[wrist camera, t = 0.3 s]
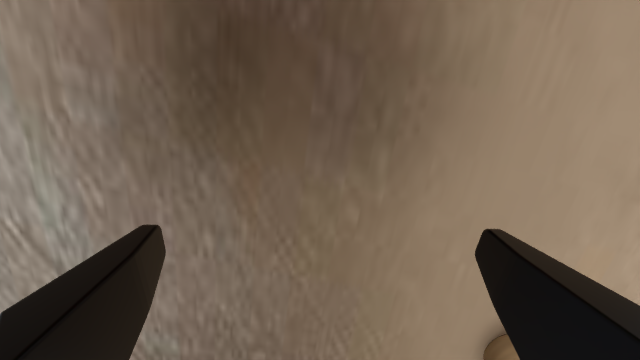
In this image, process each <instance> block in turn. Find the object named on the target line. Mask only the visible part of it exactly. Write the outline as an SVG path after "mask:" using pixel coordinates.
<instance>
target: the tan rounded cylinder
mask: <svg viewBox="0 0 640 360" xmlns="http://www.w3.org/2000/svg"><path fill="white" fill-rule="evenodd" d="M483 359H484V360H520V359H519V357H518V355H517V353H516V351H515V349H514V347H513V345H512V343H511V341H510V339H509V337H508V335H507V334H506V335H502V336H500V337H498V338H496V339H495V340H493V341H492V342H491V343H490V344H489V345H488V346H487V348H486V350H485V352H484V356H483Z"/></svg>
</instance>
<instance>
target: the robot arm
mask: <svg viewBox="0 0 640 360" xmlns="http://www.w3.org/2000/svg"><path fill="white" fill-rule="evenodd" d="M165 253H166V250H165V244H164V240H163V235H162V230H161V228H160V226H158V225H142V226H140V227H138V228H136V229H135V230H133V231H132V232H130V233H128V234H127V235H125V236H124V237H122V238H120V239H119V240H117V241H116V242H114V243H112V244H111V245H109V246H108V247H106V248H104V249H103V250H101V251H99V252H98V253H96V254H95V255H93V256H91V257H90V258H88V259H87V260H85V261H83V262H82V263H80V264H79V265H77V266H75V267H74V268H72V269H71V270H69V271H67V272H66V273H64V274H63V275H61V276H59V277H58V278H56V279H54V280H53V281H51V282H50V283H48V284H46V285H45V286H43V287H42V288H40V289H38V290H37V291H35V292H34V293H32V294H30V295H29V296H27V297H25V298H24V299H22V300H21V301H19V302H17V303H16V304H14V305H13V306H11V307H9V308H8V309H6V310H5V311H3V312H2V313H1V314H0V360H129V359H130V356H131V354H132V351H133V349H134V347H135V344H136V342H137V339H138V337H139V335H140V332H141V330H142V327H143V325H144V323H145V320H146V318H147V315H148V313H149V310H150V307H151V304H152V301H153V297H154V294H155V290H156V287H157V283H158V280H159V276H160V273H161V269H162V266H163V262H164V259H165ZM475 257H476V261H477V263H478V266H479V269H480V272H481V274H482V277H483V280H484V282H485V285H486V288H487V290H488V293H489V296H490V298H491V301H492V303H493V306H494V308H495V310H496V312H497V314H498V316H499V318H500V320H501V322H502V324H503V326H504V328H505V330H506V332H507V335H508V337H509V339H510V341H511V343H512V345H513V347H514V349H515V351H516V353H517V355H518V357H519V359H520V360H640V306H639V305H638V304H636V303H634V302H632V301H630V300H628V299H627V298H625V297H623V296H621V295H619V294H617V293H616V292H614V291H612V290H610V289H608V288H607V287H605V286H603V285H601V284H599V283H597V282H596V281H594V280H592V279H590V278H588V277H586V276H585V275H583V274H581V273H579V272H577V271H576V270H574V269H572V268H570V267H568V266H566V265H565V264H563V263H561V262H559V261H557V260H555V259H554V258H552V257H550V256H548V255H546V254H545V253H543V252H541V251H539V250H537V249H535V248H534V247H532V246H530V245H528V244H526V243H524V242H523V241H521V240H519V239H517V238H515V237H513V236H512V235H510V234H508V233H506V232H504V231H503V230H500V229H486V230H484V231H483V233H482V235H481V238H480V240H479V243H478V245H477V248H476V251H475Z"/></svg>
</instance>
